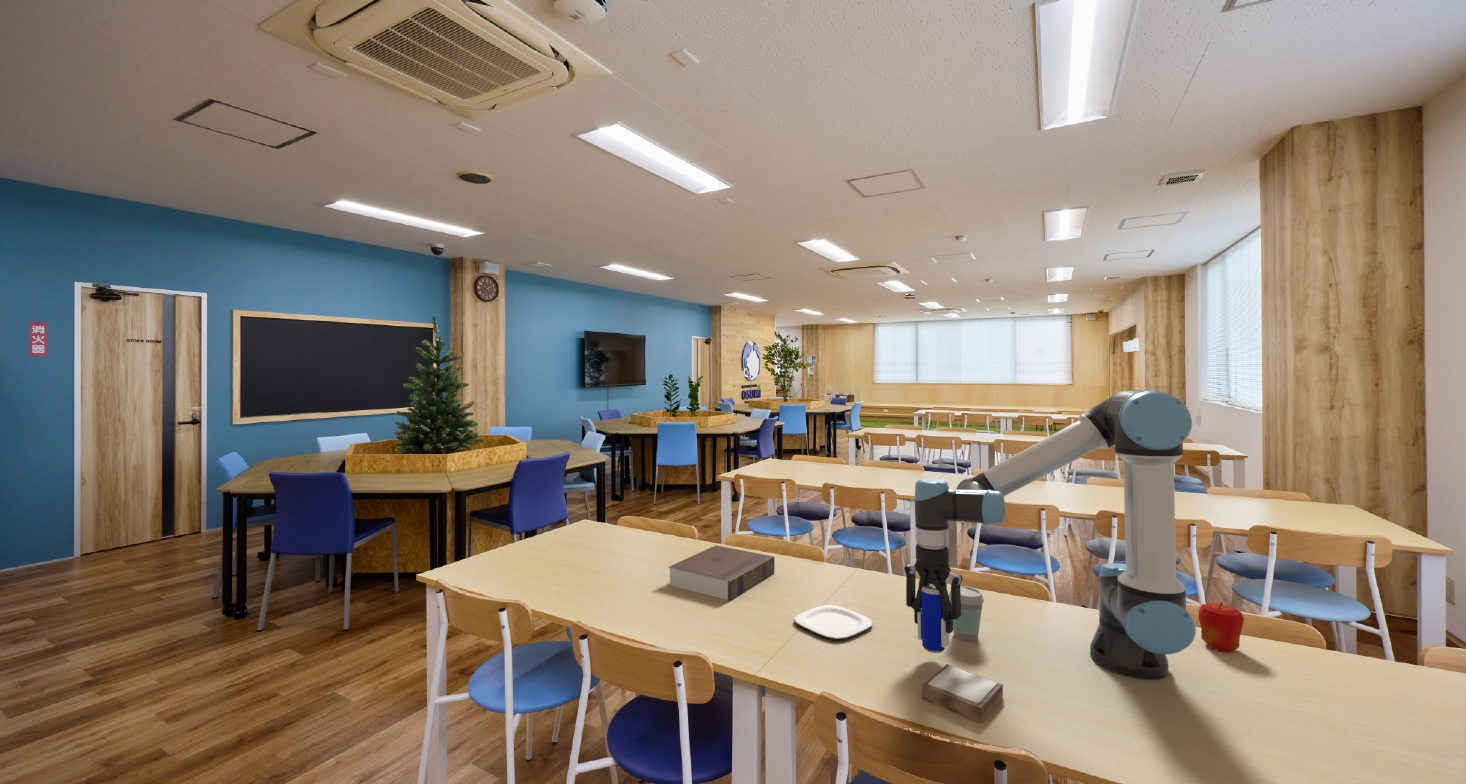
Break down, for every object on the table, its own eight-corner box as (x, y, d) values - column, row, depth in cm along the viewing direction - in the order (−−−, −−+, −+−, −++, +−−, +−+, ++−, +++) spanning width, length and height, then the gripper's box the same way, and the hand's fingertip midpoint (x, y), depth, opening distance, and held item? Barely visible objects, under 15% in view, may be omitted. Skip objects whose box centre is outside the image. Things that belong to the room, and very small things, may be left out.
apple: (1232, 643, 143) (1233, 597, 142) (1250, 658, 135) (1251, 609, 134) (1191, 637, 145) (1192, 592, 145) (1207, 652, 138) (1207, 605, 137)
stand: (1002, 698, 118) (1002, 682, 118) (980, 723, 110) (980, 706, 110) (946, 677, 127) (946, 662, 127) (922, 698, 118) (922, 683, 118)
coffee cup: (987, 645, 142) (987, 598, 141) (951, 642, 143) (951, 596, 143) (979, 630, 150) (979, 586, 150) (945, 628, 152) (945, 583, 151)
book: (774, 575, 194) (774, 556, 194) (730, 602, 170) (730, 581, 170) (715, 563, 207) (715, 545, 207) (667, 586, 183) (667, 567, 183)
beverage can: (939, 643, 137) (939, 582, 137) (948, 653, 132) (947, 590, 131) (919, 644, 137) (918, 582, 136) (927, 654, 131) (926, 590, 131)
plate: (837, 648, 141) (837, 641, 141) (786, 624, 155) (786, 618, 155) (880, 627, 153) (880, 621, 153) (829, 607, 167) (829, 601, 167)
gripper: (977, 548, 130) (978, 647, 130) (904, 534, 143) (905, 625, 143) (963, 556, 125) (965, 659, 125) (889, 541, 137) (891, 635, 138)
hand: (933, 641), depth 134 cm, fingers closed on beverage can, 5 cm apart
